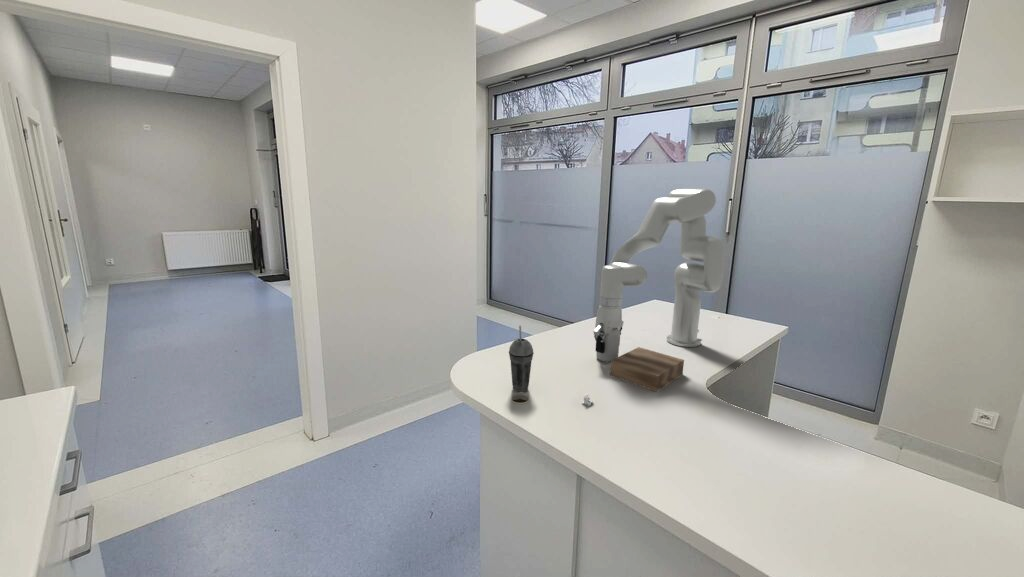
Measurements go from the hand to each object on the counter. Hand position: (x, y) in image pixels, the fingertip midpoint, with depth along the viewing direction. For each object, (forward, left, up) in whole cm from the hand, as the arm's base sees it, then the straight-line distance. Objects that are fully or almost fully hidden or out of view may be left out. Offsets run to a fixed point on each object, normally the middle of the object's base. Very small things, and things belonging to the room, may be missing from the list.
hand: (607, 348), depth 148 cm
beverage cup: (+39, -5, -4) cm, 39 cm away
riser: (+2, +16, -4) cm, 17 cm away
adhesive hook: (+32, +15, -5) cm, 36 cm away
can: (0, 0, -4) cm, 4 cm away
